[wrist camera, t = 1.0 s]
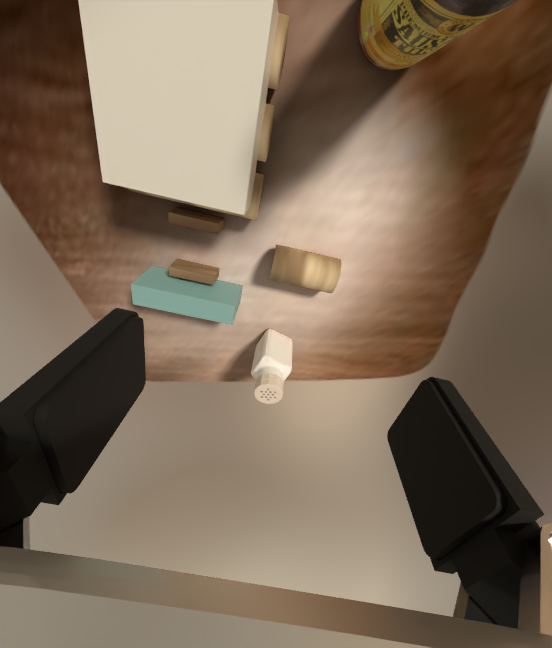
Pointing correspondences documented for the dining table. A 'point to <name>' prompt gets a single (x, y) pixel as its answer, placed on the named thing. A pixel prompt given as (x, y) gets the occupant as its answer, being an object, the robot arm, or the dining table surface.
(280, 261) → the roller
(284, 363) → the pepper shaker
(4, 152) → the dining table surface
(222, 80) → the slab
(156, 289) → the block
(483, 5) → the sauce bottle
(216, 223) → the roller track
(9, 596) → the robot arm
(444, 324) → the dining table surface
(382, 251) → the dining table surface
